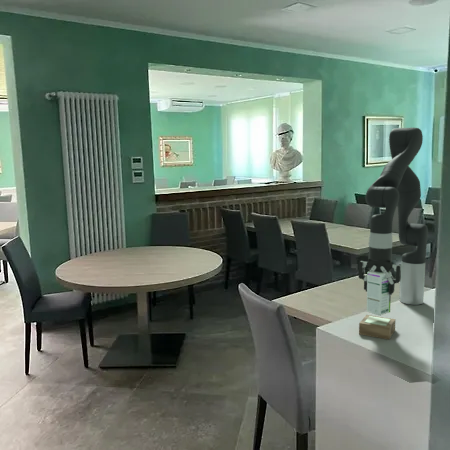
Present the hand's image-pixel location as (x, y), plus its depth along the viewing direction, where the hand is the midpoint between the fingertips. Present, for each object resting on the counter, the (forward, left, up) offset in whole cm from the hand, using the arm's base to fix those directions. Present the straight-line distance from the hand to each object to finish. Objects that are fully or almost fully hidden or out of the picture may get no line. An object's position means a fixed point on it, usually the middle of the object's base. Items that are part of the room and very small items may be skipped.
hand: (378, 292), depth 160 cm
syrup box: (0, 0, -7) cm, 7 cm away
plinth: (0, 0, -14) cm, 14 cm away
